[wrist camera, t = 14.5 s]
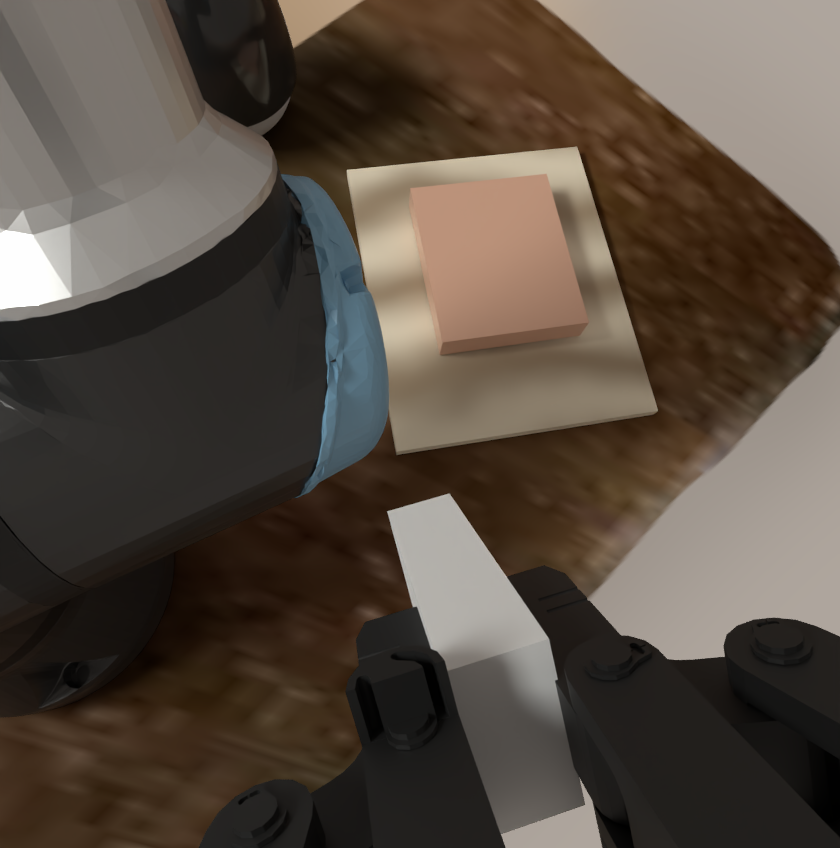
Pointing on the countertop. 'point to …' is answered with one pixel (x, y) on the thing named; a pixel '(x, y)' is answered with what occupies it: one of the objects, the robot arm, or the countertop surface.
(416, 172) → the cloth
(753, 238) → the countertop surface
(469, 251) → the tile
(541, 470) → the countertop surface
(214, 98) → the black glossy egg shape
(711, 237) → the countertop surface
